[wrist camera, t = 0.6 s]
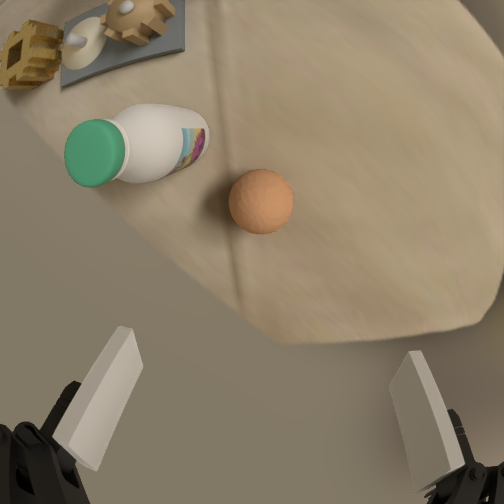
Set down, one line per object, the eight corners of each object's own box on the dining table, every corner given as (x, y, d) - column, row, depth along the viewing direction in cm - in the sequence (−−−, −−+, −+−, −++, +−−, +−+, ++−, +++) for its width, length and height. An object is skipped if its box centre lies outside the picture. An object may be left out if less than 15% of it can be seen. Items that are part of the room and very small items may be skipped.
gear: (28, 45, 25) (0, 42, 18) (67, 21, 24) (38, 12, 17) (25, 93, 29) (-5, 95, 23) (63, 73, 28) (31, 70, 22)
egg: (300, 176, 34) (307, 191, 26) (280, 228, 37) (280, 256, 29) (244, 157, 33) (234, 166, 26) (227, 210, 36) (213, 234, 29)
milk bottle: (144, 132, 33) (34, 149, 14) (190, 97, 30) (98, 72, 12) (174, 177, 35) (83, 231, 17) (222, 144, 33) (158, 165, 15)
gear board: (70, 24, 24) (42, 16, 18) (185, -17, 23) (167, -40, 16) (66, 87, 29) (35, 85, 23) (184, 50, 28) (163, 35, 21)
